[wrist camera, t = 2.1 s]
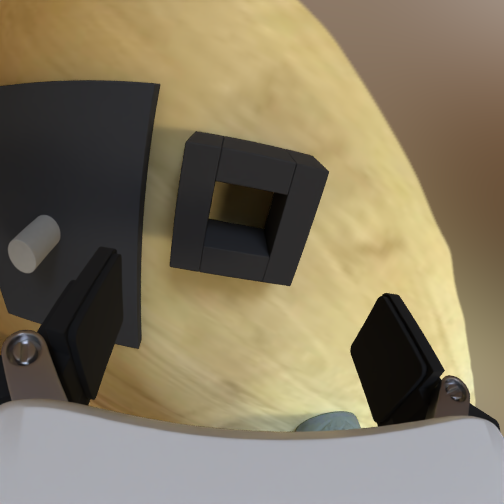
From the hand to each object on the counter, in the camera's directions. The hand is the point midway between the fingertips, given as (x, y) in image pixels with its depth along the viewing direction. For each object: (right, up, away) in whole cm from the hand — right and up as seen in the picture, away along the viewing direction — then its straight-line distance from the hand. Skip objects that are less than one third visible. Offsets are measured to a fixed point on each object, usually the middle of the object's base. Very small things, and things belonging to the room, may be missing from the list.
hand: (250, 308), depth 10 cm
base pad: (-14, +4, +8) cm, 17 cm away
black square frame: (-1, +5, +8) cm, 10 cm away
